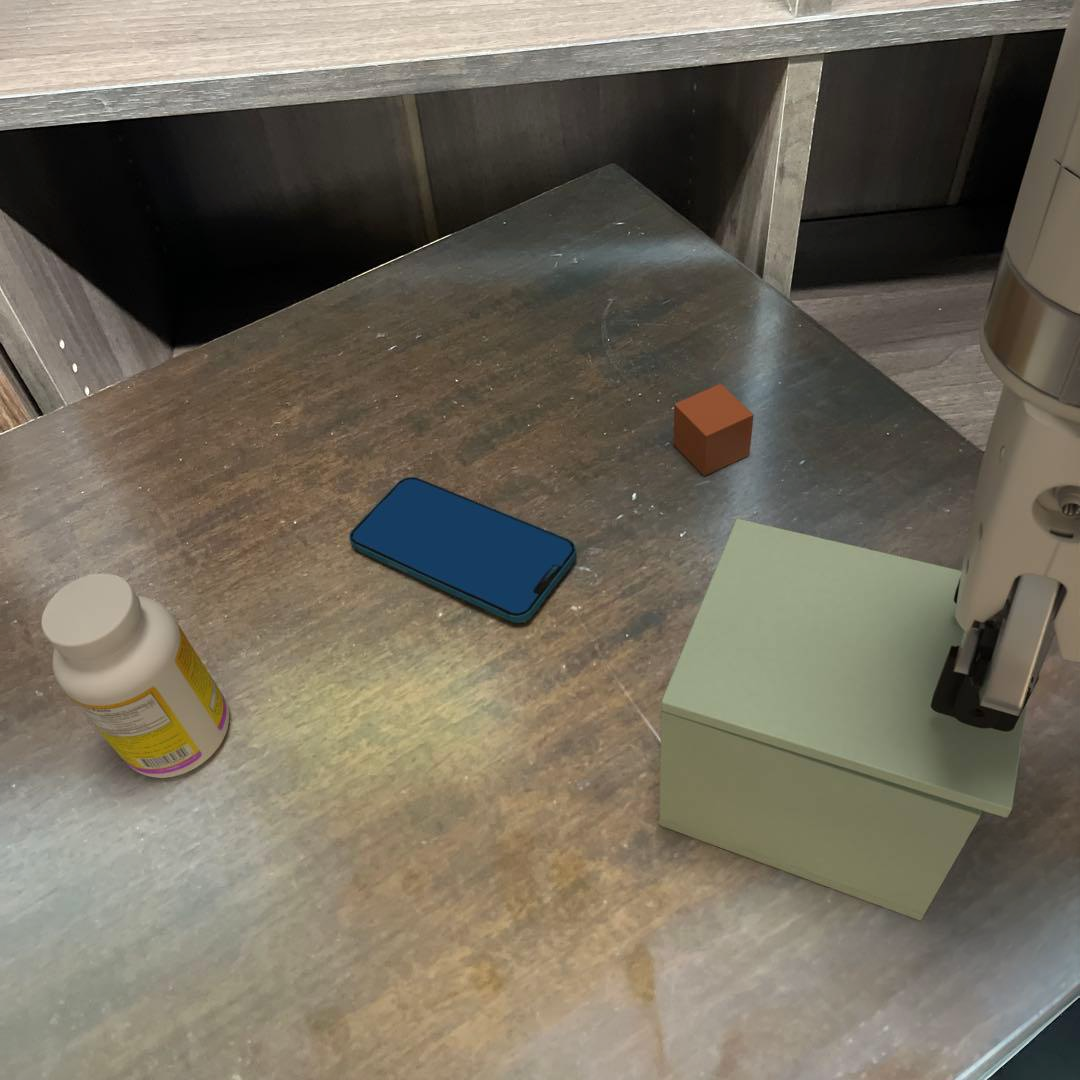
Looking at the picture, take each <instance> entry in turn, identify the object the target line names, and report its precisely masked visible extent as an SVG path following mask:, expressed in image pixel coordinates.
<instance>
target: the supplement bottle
mask: <svg viewBox="0 0 1080 1080" xmlns="http://www.w3.org/2000/svg"><path fill="white" fill-rule="evenodd" d="M41 615H42V616H41V629H42V632H43V634H44V636H45V637H46V638H47V640H48V641H49V643H50V644H51V645H52V647H53V653H52V669H53V674H54V677H55V680H56V681H57V684H58V685H59V686H60V688H62V690H63V691H64V693H65V694H66V696H68V697H69V698H70V700H71V701H72V702H73V703H74V704H75V705H76V706H77V708H78V709H80V711H81V712H82V713H83V714H84V716H85V717H86V718H87V719H88V721H89V722H90V723H91V724H92V725H93V727H95V728H96V730H97V731H98V732H99V734H100V735H101V736H102V737H103V738H104V739H105V740H106V742H107V743H108V744H109V745H110V746H111V747H112V749H113V750H114V751H115V752H116V753H117V755H118V756H120V758H121V759H122V760H123V761H124V762H125V763H126V765H128V766H129V767H130V768H131V769H132V770H134V771H135V772H137V773H139V774H141V775H143V776H146V777H150V778H157V779H158V778H160V779H162V778H163V779H164V778H165V779H166V778H172V777H177V776H181V775H184V774H186V773H188V772H190V771H193V770H194V769H197V768H198V767H199V766H201V765H202V764H204V763H205V762H207V760H209V759H210V758H211V757H212V756H213V755H214V754H215V752H216V751H217V750H218V749H219V747H220V746H221V744H222V742H223V741H224V738H225V736H226V734H227V731H228V728H229V725H230V724H229V723H230V710H229V705H228V702H227V700H226V698H225V696H224V694H223V693H222V691H221V690H220V688H219V687H218V685H217V683H216V681H215V680H214V679H213V677H212V675H211V673H210V672H209V670H208V669H207V668H206V666H205V664H204V663H203V661H202V660H201V658H200V656H199V655H198V653H197V651H196V650H195V648H194V647H193V646H192V644H191V642H190V641H189V639H188V637H187V636H186V634H185V633H184V631H183V630H182V628H181V626H180V624H179V623H178V621H177V620H176V618H175V617H174V615H173V614H172V613H171V611H170V610H169V609H168V607H166V606H165V605H163V604H162V603H160V602H159V601H157V600H154V599H152V598H150V597H147V596H142V595H137V593H136V592H135V590H134V588H133V587H132V586H131V585H130V584H129V582H128V581H127V580H125V579H124V578H123V577H121V576H119V575H116V574H113V573H104V572H101V573H93V574H88V575H84V576H81V577H79V578H76V579H74V580H73V581H71V582H69V583H67V584H66V585H64V586H63V587H61V588H60V589H59V590H58V591H57V592H55V594H54V595H53V596H52V597H51V598H50V599H49V601H48V603H47V604H46V606H45V608H44V610H43V612H42V614H41Z"/></svg>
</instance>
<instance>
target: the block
mask: <svg viewBox="0 0 1080 1080" xmlns="http://www.w3.org/2000/svg"><path fill="white" fill-rule="evenodd" d="M673 405H674V406H673V407H674V408H673V409H674V410H673V443H672V444H673V446H674V447H675V448H676V449H677V450H678V451H679V452H680V453H681V454H682V455H683V456H684V457H685V458H686V459H687V460H688V461H689V462H690V464H691V465H692V466H693V467H694V468H695V469H696V470H697V471H698V472H699V473H700V474H701V476H703V477H705V476H708V475H710V474H713V473H714V472H716V471H718V470H719V471H720V469H723V468H725V467H727V466H729V465H732V464H734V463H736V462H737V461H740V460H742V459H745V458H746V457H749V456H750V454H751V443H752V435H753V425H754V417H755V416H754V413H753V412H752V411H751V410H749V409H748V408H747V406H746V405H744V404H743V403H742V402H741V401H740V400H739V399H738V398H737V397H736V396H735V395H734V394H733V393H731V392H730V391H729V390H728V389H727V388H726V387H725V386H724V385H723V384H722V383H719V384H717V385H714V386H711V387H710V388H708V389H705V390H703V391H701V392H699V393H696V394H694V395H691V396H689V397H687V398H684V399H683V400H679V401H678V402H676V403H674V404H673Z"/></svg>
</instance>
